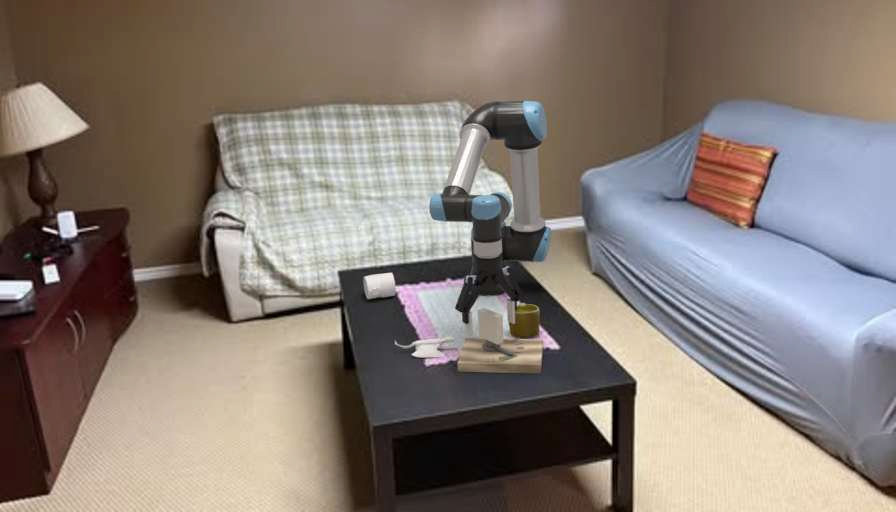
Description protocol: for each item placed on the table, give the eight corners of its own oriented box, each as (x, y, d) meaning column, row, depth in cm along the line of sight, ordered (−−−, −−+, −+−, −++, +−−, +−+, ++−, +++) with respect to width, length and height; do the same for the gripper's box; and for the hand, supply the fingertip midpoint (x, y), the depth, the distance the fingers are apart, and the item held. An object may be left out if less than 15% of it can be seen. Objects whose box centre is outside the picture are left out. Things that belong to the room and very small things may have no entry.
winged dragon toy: (392, 362, 214) (391, 348, 213) (392, 346, 224) (391, 333, 222) (456, 357, 214) (456, 343, 213) (454, 342, 224) (454, 329, 223)
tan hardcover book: (465, 346, 220) (465, 337, 220) (543, 347, 217) (543, 338, 216) (457, 371, 205) (457, 361, 205) (540, 373, 202) (540, 363, 201)
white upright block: (488, 340, 217) (487, 306, 214) (519, 354, 208) (518, 318, 205) (475, 346, 214) (473, 311, 211) (506, 359, 205) (504, 323, 202)
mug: (544, 336, 219) (533, 303, 219) (510, 345, 222) (499, 312, 222) (550, 327, 231) (540, 295, 231) (518, 336, 234) (508, 304, 234)
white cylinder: (396, 299, 258) (395, 277, 256) (369, 303, 256) (367, 281, 254) (389, 288, 269) (388, 266, 267) (363, 291, 267) (361, 270, 265)
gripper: (519, 242, 213) (520, 313, 220) (439, 259, 202) (444, 334, 208) (534, 248, 207) (535, 321, 213) (453, 267, 196) (457, 343, 202)
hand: (490, 327), depth 211 cm, fingers open, 13 cm apart
